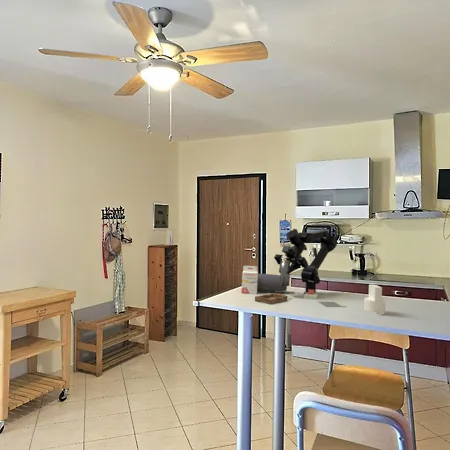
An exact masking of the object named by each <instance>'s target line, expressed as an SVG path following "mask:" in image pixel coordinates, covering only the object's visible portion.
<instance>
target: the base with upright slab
mask: <svg viewBox="0 0 450 450" xmlns="http://www.w3.org/2000/svg"><path fill="white" fill-rule="evenodd" d="M363 301H364V302H363V305H364V306H363V309H364V311H366V312H372V313H376V315H377V314H383V313H385V314H386V299H384V298H383V287H381V286H379V285H377V284H368V296H367V297H365V298H364V300H363Z"/></svg>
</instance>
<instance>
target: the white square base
mask: <svg viewBox="0 0 450 450" xmlns="http://www.w3.org/2000/svg"><path fill="white" fill-rule="evenodd" d="M303 294H304V293H303ZM303 297H304V299H313V300H316V299H318V298H319V293H318V292H317V293H314V294H308V292H306V293H305V294H304V295H303Z"/></svg>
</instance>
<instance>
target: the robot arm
mask: <svg viewBox="0 0 450 450" xmlns="http://www.w3.org/2000/svg"><path fill="white" fill-rule="evenodd" d="M286 237H287V239H288V241H289V242H290V244H291V245H292V246H291V245H283V246H282V250H281V252H282V253H284V255H283V254H274V255H275V256H274V257H273V259H275V263H277V264H278V265H279V268H278V272H279V274H280V271H281V260H284V259H287V260H290V268H289V269H288V271H287V274H289V273H290V274H291V273H293V272H295V271H297V270H299V269H301V268H302V269H301V270H302V271H301V273H300V278H301V283H305V288H304V289H305V291H304V292H303V294H305V293H306V292H308V290H309V289H312V290H314V293H318V292H317V285H319V284H321V283H320V282H321V279H320V277H319V269H320V267H321V265H322V264H323V262H324V261H325V258H326V257H327V256H328V254H329V253H330V252H332V251H334V250H335V248H336V247H337V246H338V241H337V239H336V238H335V237H334V235H332V234H330V233H329V231H328V230H321V229H320V230H318V231H313V232H303V231H301V232H299V231H298V229H297V228H293V229H292V230H289V231H288V232H287V233H286ZM314 240H315V241H316V240H319V243H320V249H319V250H318V252H317V254H316V255H315V256H314V258H313V260H312V261H311V263H309V262H308V260H307V258H306V257H304V256H302V253H303V252H304V251H308V247H307V245H306V244H311V243H313V242H314Z"/></svg>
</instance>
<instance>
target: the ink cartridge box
mask: <svg viewBox="0 0 450 450" xmlns="http://www.w3.org/2000/svg"><path fill="white" fill-rule="evenodd" d="M242 270H243V271H242V272H241V274H242V275H241V294H247V295H248V294H249V295H252V294H253V295H256V294H258V291H257V282H258V274H259V272H258V266H257V265H243V266H242Z"/></svg>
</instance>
